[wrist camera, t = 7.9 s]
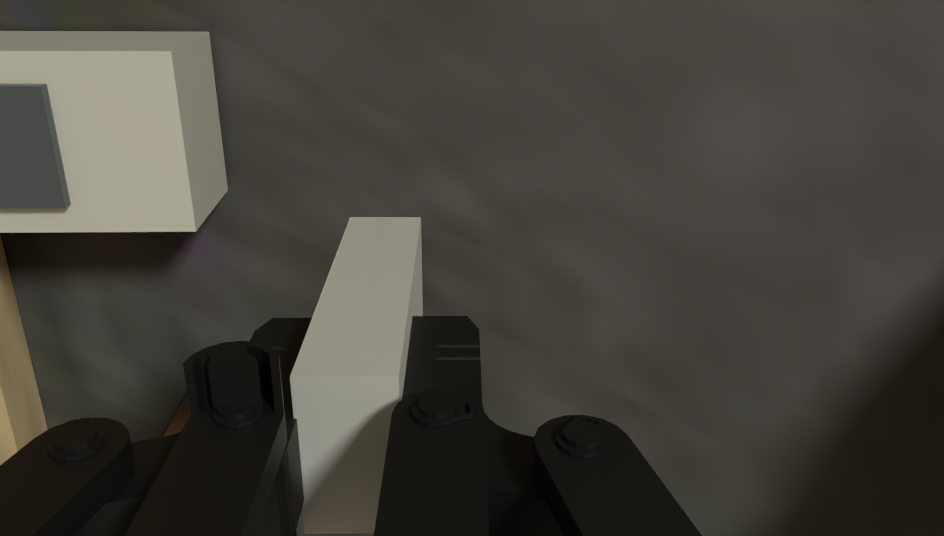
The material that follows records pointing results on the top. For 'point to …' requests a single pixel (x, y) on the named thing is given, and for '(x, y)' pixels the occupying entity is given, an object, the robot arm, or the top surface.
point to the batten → (15, 375)
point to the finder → (108, 132)
